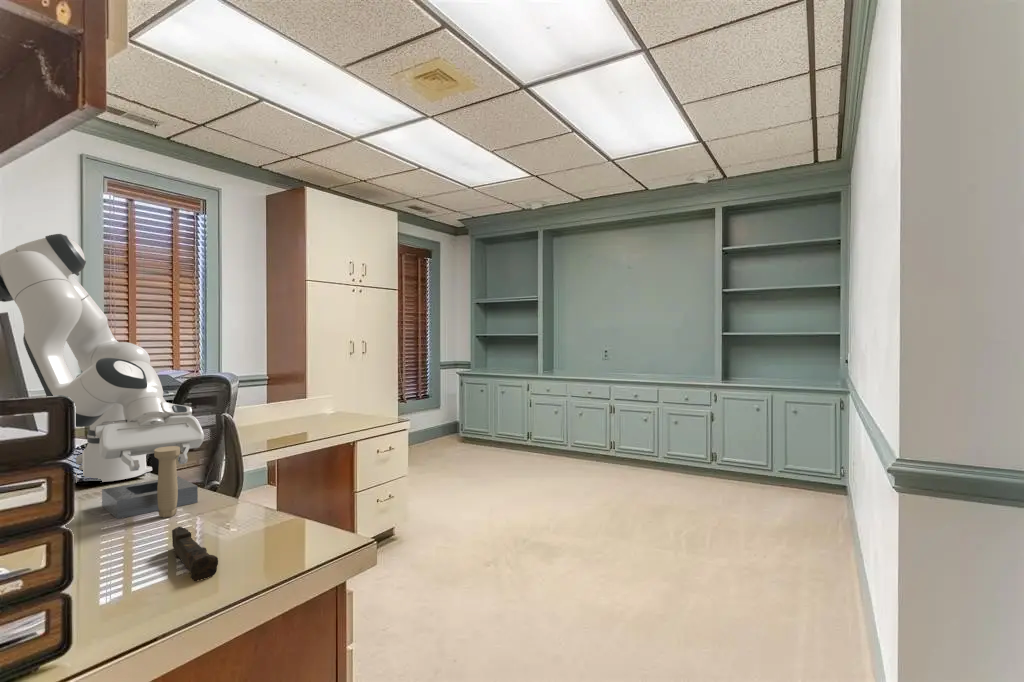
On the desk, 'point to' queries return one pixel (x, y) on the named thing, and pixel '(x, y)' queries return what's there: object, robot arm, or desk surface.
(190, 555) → the hand tool
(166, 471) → the handle
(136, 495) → the jig
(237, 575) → the desk surface
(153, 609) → the desk surface
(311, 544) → the desk surface
